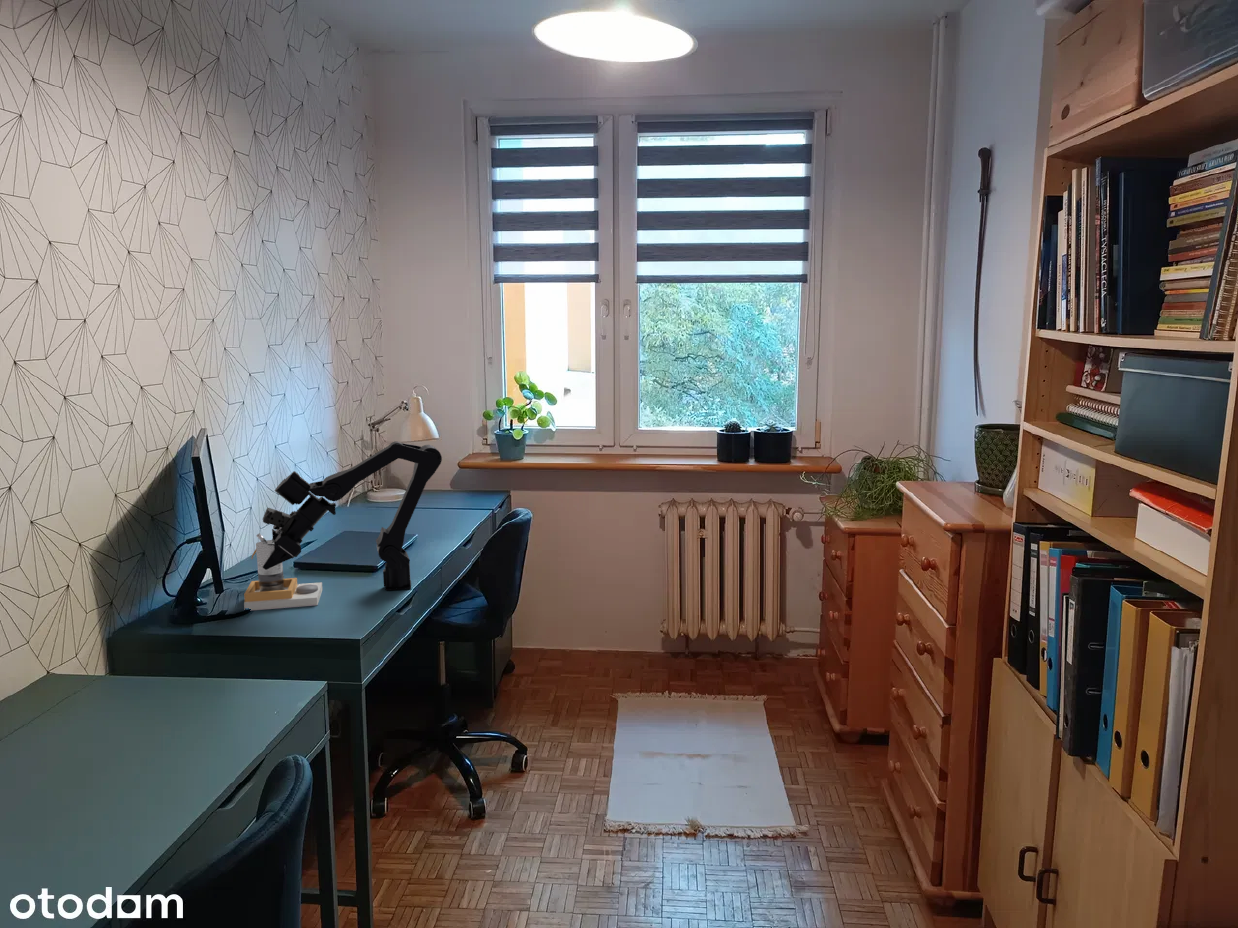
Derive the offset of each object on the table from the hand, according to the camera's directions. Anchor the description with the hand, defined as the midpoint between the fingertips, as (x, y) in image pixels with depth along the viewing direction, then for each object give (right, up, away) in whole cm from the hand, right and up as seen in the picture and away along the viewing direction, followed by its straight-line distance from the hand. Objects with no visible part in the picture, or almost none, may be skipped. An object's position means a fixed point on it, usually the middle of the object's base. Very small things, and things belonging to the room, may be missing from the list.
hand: (263, 563), depth 223 cm
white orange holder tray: (+4, -9, +3) cm, 11 cm away
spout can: (+1, -7, +2) cm, 8 cm away
